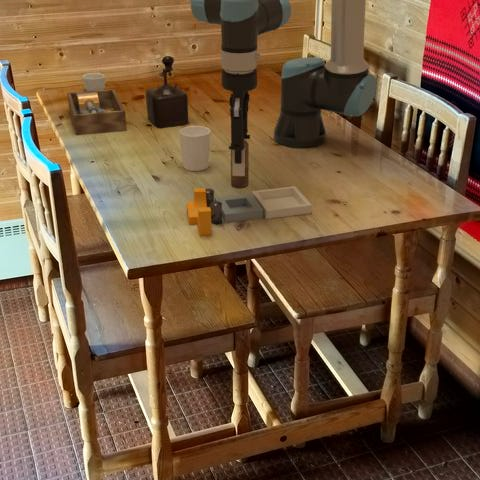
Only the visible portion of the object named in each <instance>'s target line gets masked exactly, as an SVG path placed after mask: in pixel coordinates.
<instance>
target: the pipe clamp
mask: <svg viewBox="0 0 480 480" xmlns="http://www.w3.org/2000/svg"><path fill="white" fill-rule="evenodd" d="M205 189H206V187H197V188H196V187H195V188H193V201H191V200H190V201H186V215H187V220H188V224H189V225H197V229H198V234H199V236H211V235H212V223H211V209H210V207H207V203H206V190H205Z"/></svg>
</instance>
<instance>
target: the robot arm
mask: <svg viewBox="0 0 480 480" xmlns="http://www.w3.org/2000/svg"><path fill="white" fill-rule="evenodd" d="M366 1H367V0H331V13H330V14H331V18H330V20H331V21H330V26H331V27H330V59H329V60H328V61H326V63H325V60H324V59H323V58H320V57H313V56H312V57H299V58H295V59H291V60H287V61H286V62H285V63H283V65H282V68H281V69H282V70H281V77H280V80H281V83H280V86H281V88H280V113H279V116H278V118H277V121H276V124H275V126H274V129H273V140H274V141H275V142H276V143H277V144H279V145H283V146H286V147H290V148H299V149H302V148H303V149H304V148H305V149H307V148H314V147H318V146H321V145H323V144H324V143H325V142H326V137H327V136H326V135H327V133H326V128H325V124H324V120H323V117H322V110H323V111H328V112H332V113H337V114H341V115H344V116H354V117H359V116H362V115H363V114H365V113H366V112H367V110H368V109H369V108H370V106H371V105H372V103H373V102H372V101H373V99H374V96H375V94H376V89H377V79H376V76H375V74H372V73H369V69H370V68H369V63H368V62H367V61H366V60H365V59H364V49H365V48H364V47H365V46H364V45H365V27H366V25H365V24H366V23H365V22H366V3H367V2H366ZM190 10H191V13H192V15H193V17H194V18H195V19H196V20H197V21H200V22H205V23H207V24H213V25H220V33H221V35H220V36H221V44H220V45H221V48H220V61H221V63H220V66H221V68H222V70H221V87H222V88H223V89H224V90H226V91H230V92H232V93H230V97H229V106H230V109H229V112H230V115H229V116H230V141H231V143H230V145H229V146H228V150H230V151H231V150H232V176H245V148H244V141H246V142H248V140H250V139H251V134H248V132H249V129H248V115H249V114H248V113H249V102H250V93H249V92H250V91H252V90H255V89H256V88H257V86H258V71H257V69H256V68H257V67H258V59H260V58H261V54H260V53H257V52H258V36H260V35H262V34H265V33H268V32H271V31H276V30H278V29H280V28H281V27H283V26H284V25H286V24H287V23H288V22H289V20H290V18H291V16H292V7H291V3H290V0H190Z"/></svg>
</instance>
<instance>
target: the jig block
mask: <svg viewBox="0 0 480 480" xmlns="http://www.w3.org/2000/svg"><path fill="white" fill-rule="evenodd" d="M214 201H220V202H221V203H222V221H223V222H224V223H225V224H226V223H232V222H233V223H234V222H239V221H240V222H241V221H248V220H255V219H263V218H264V215H263V209H262V207H261V206H260V205H259V203H258V202H257V201H256V199H255V198H254V196H253V195H252V193H246V194H245V193H244V194H237V195H229V196H220V197H214Z"/></svg>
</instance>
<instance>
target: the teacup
mask: <svg viewBox="0 0 480 480" xmlns="http://www.w3.org/2000/svg"><path fill="white" fill-rule="evenodd" d="M82 83H83V87H84V89H85V91H96V90H105V88H106V74H104V73H103V72H102V73H101V72H88V73H85V74H83V75H82Z"/></svg>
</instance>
